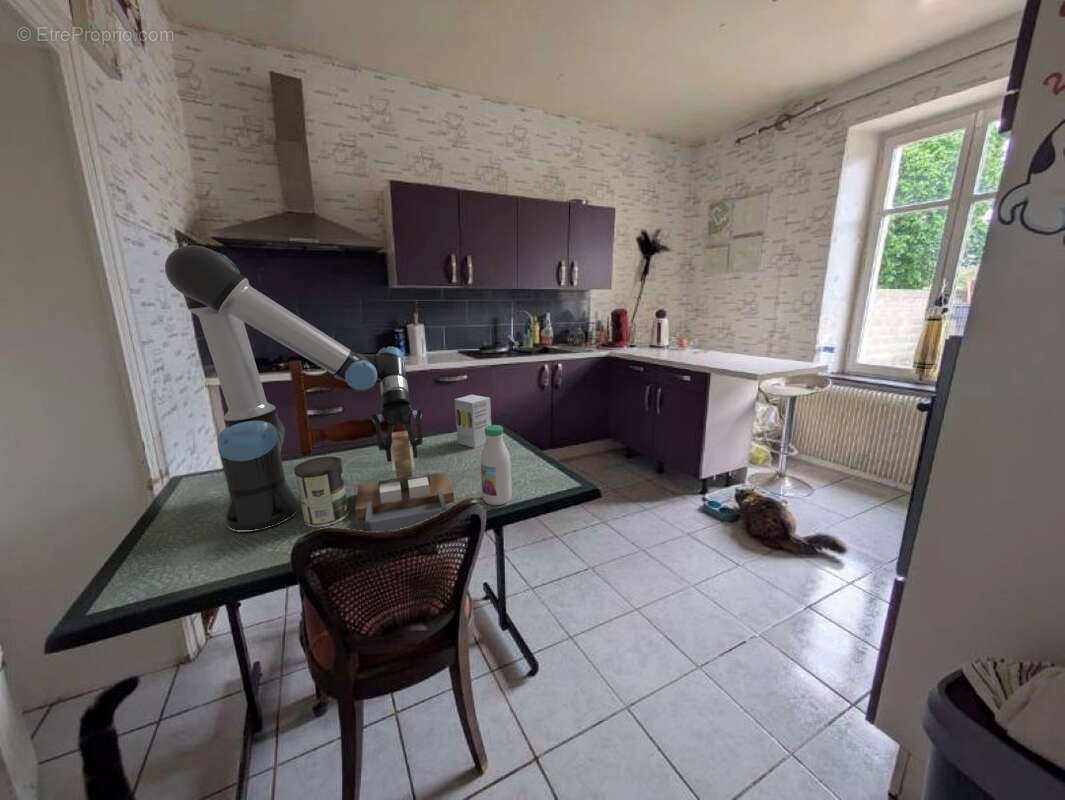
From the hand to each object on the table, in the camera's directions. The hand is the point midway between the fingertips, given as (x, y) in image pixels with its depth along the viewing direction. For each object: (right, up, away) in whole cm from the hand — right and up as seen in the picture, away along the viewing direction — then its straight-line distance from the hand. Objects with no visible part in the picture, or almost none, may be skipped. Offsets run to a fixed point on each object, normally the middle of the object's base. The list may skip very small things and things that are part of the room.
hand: (403, 470), depth 108 cm
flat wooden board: (-1, -8, +3) cm, 9 cm away
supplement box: (+13, +3, +44) cm, 46 cm away
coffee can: (-18, -11, -5) cm, 21 cm away
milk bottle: (+24, -8, +1) cm, 26 cm away
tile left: (-3, -7, -2) cm, 7 cm away
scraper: (-1, -4, +5) cm, 6 cm away
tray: (+3, -11, -8) cm, 14 cm away
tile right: (+4, -6, +1) cm, 7 cm away
